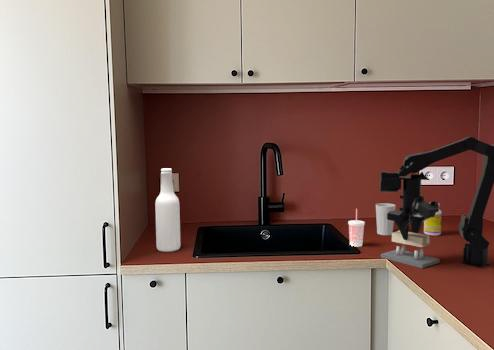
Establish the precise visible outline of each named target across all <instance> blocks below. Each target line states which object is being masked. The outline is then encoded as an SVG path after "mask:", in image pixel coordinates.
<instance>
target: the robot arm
mask: <svg viewBox="0 0 494 350" xmlns="http://www.w3.org/2000/svg"><path fill="white" fill-rule="evenodd" d="M467 151H472V152H475V153H477V154H480V155H482V161H481V162H482V171H481V174H480V177H479V181H478V184H477V187H476V190H475V193H474V196H473V199H472V202H471V205H470V209H469V211H468V213H467V214H466V215H463V214H461V215H460V222H459V224H457V227H458V228H459V234H460V235H461V237H462V238H463V240H465V242H466V243H464V247H463V249H462V261H461V264H465V265H469V266H472V267H478V268H482V267H485V266H487V265H490V264H491V263H490V261H488V258H489V257H488V256H489V245H490V242H489V241H488V240H487V239H486V238H485V236H484V235H483V230H484V215H485V212H486V209H487V205H488V202H489V199H490V196H491V193H492V191H493V188H494V143H493V144H489V143H487V142H484V141H481V140H478V139H476V138H475V137H473V136H466V137H464V138H462V139H460V140H457V141H454V142H452V143H449V144H446V145H443V146H440V147H438V148H434V149H433V150H428V151H425V152H418V153H411V154H408V155H406V156H405V157H404V159H403V161H402V165H401V166H400V167H399V169H398V170H397V171H396V172H389V171H381V172H380V180H379V192H380V193H398V191H399V190H401V189H402V194H401V195H399V199H402V200H401V201H402V204H401V207H399V210H398V209H395V210H394V211H389V212H388V213H387V220H392V221H394V223H395V224H396V226H397V228H398V231H399V230H400V232H401V235H402V237H403V239H404V240H407V238H408V232H410V231H409V230H410V229H409V228H410V227H411V232H412V233H417V234H420V230H421V228H422V225H423V224H424V221H425V220H426V219H428V218H430V217H434V216H435V214H436V212H439V210H440V205H438V203H439V202H438V201H435V200H434V201H433V200H432V201H426V200H425V197H424V195H422V193H421V192H422V180H425V181H427V180H428V176H426V175H425V173H424V172H422V171H423V170H424V169H426V168H427V167H429V166H431V165H432V164H434V163H436V162H440V161H442V160H445V159H447V158H450V157H453V156H456V155H459V154H461V153H465V152H467ZM420 171H421V172H420ZM419 172H420V173H419ZM408 175H409V176H408ZM430 202H431V203H430ZM438 209H439V210H438Z"/></svg>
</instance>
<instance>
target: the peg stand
mask: <svg viewBox="0 0 494 350" xmlns="http://www.w3.org/2000/svg"><path fill="white" fill-rule="evenodd" d="M380 258H381V259H386V260H389V261H392V262H396V263H400V264H404V265H408V266H411V267H415V268H419V269H424V268H428V267H430V266H434V265H436V264H440V258H437V257H433V256H429V255H425V254H424V248H419V250H417V249H416V250H414V252H413V251H408V250H406V244H401V246H400V245H396V249H393V250H390V251H386V252H384V253H380Z"/></svg>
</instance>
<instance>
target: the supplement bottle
mask: <svg viewBox="0 0 494 350" xmlns="http://www.w3.org/2000/svg"><path fill="white" fill-rule="evenodd" d="M431 202H432V201H429V203H431ZM438 205H439V206H440V203H439V202H438ZM438 210H439V212H436V214H435V216H434V217H430V218H428V219H426V220H425V221H424V222H423V234H424V235H429V236H431V237H432V236H435V237H436V236H439V235H441V234H442V216H443V215H442V213H443V212H442V210H441V209H440V208H439V209H438Z"/></svg>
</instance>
